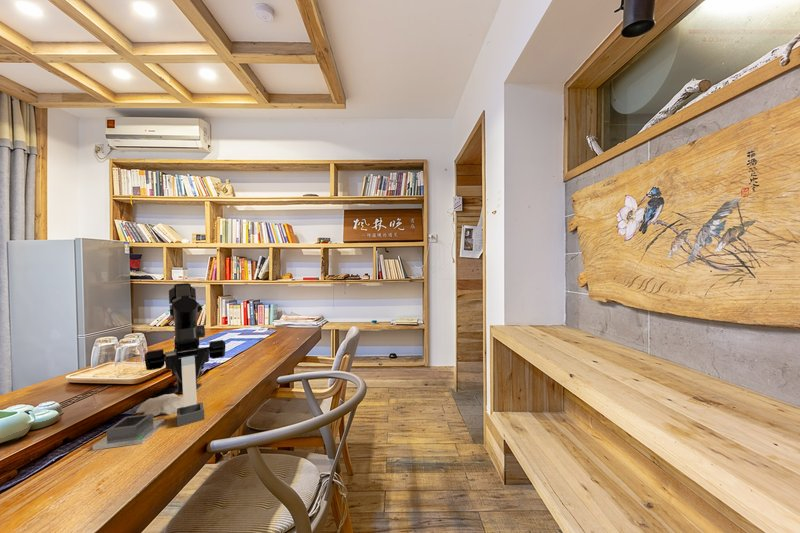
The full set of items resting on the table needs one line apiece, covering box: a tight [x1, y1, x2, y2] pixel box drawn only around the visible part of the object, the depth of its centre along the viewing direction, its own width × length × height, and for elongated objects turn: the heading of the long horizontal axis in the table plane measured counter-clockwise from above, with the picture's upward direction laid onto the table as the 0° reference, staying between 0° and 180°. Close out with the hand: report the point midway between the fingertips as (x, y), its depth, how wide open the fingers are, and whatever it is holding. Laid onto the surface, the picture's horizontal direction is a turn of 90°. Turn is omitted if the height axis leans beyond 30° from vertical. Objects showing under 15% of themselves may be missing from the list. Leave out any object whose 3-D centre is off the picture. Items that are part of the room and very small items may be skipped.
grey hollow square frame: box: [176, 402, 205, 427], centre depth 85 cm, size 7×6×2 cm
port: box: [92, 414, 166, 451], centre depth 78 cm, size 10×10×4 cm
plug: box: [181, 356, 198, 407], centre depth 85 cm, size 4×3×12 cm
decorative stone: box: [135, 393, 184, 418], centre depth 92 cm, size 11×4×15 cm
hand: (189, 380), depth 84 cm, fingers closed on plug, 3 cm apart
